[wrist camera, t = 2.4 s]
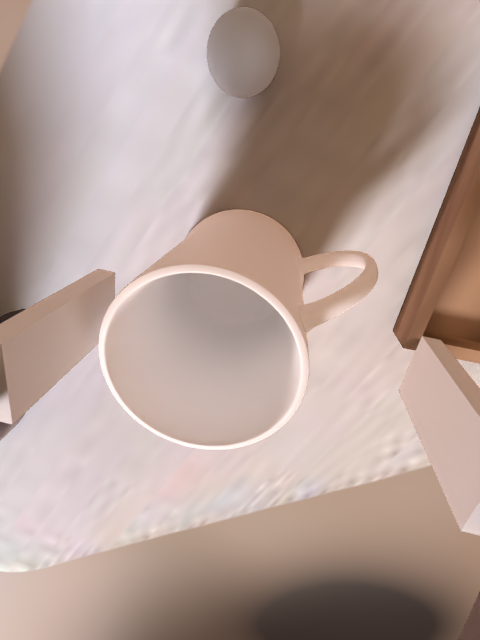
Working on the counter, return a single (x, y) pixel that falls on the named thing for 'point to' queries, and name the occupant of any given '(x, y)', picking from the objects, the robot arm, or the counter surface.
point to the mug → (221, 332)
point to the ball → (243, 52)
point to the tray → (450, 267)
